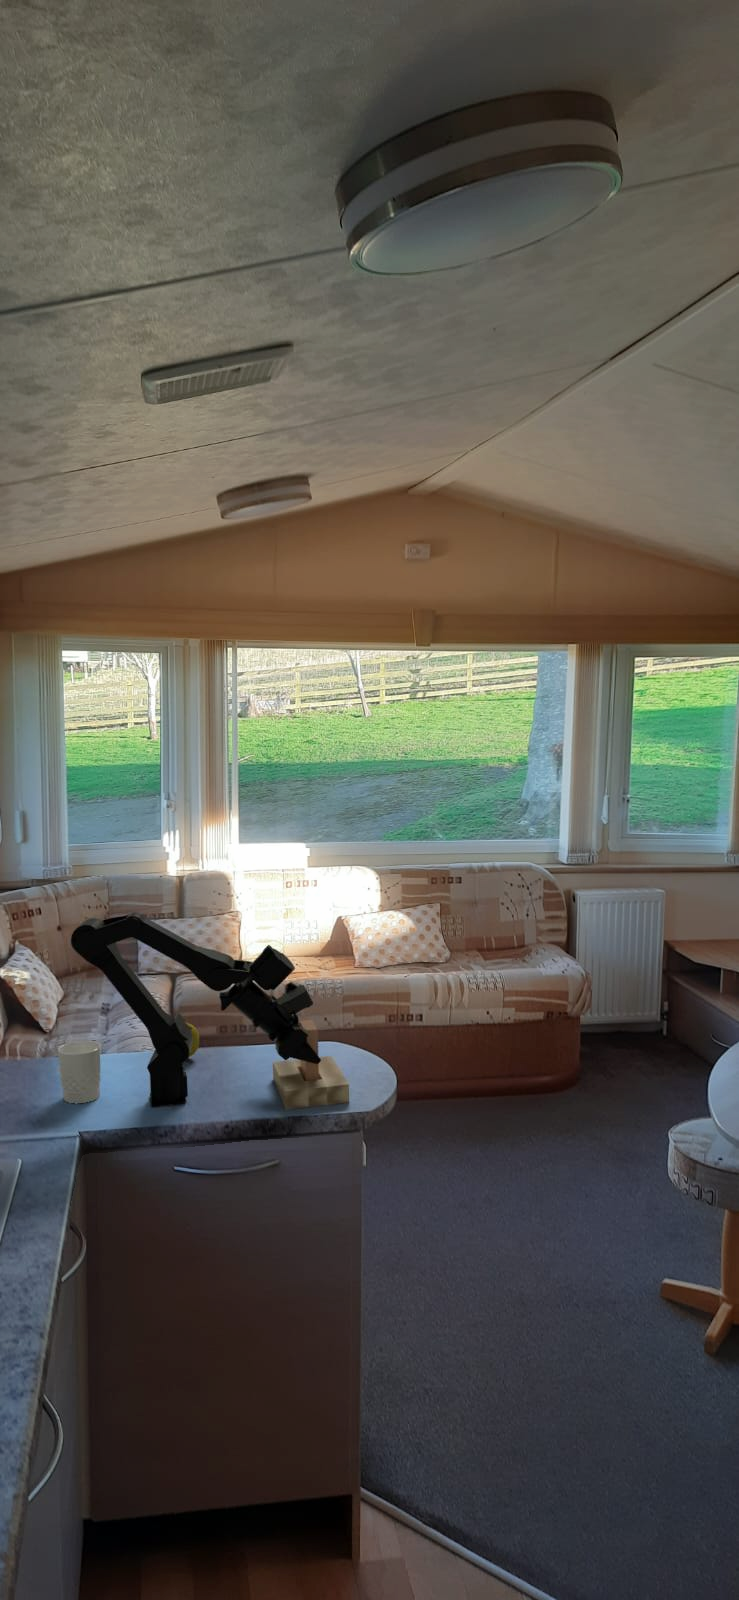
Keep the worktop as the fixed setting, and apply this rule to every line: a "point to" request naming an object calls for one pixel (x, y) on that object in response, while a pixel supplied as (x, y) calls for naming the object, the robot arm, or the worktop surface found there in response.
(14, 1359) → the worktop surface
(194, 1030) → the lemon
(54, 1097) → the worktop surface
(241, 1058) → the worktop surface
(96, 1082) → the white cup
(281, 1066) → the pine slot box
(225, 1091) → the worktop surface
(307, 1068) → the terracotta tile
